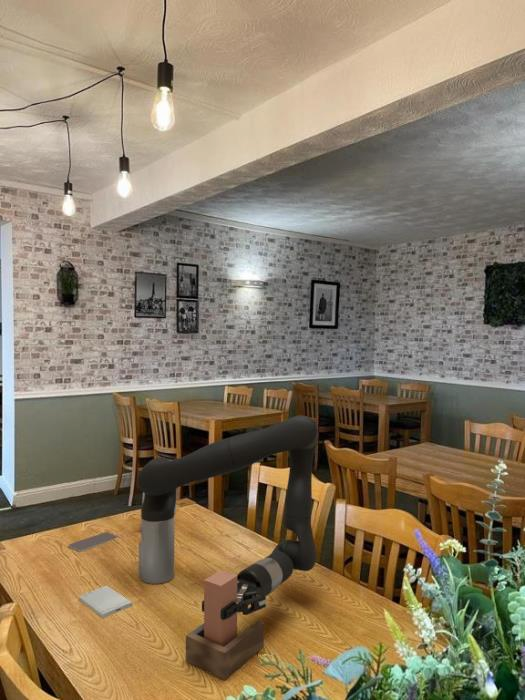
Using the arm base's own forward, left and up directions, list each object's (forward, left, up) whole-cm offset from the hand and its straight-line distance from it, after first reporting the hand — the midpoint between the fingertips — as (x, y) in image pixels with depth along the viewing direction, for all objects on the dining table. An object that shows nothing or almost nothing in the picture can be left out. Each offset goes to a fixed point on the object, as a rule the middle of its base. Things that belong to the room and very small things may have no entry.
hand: (212, 611), depth 107 cm
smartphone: (-73, +26, -12) cm, 78 cm away
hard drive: (-38, +3, -12) cm, 40 cm away
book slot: (0, +5, -11) cm, 12 cm away
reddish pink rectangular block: (0, +3, -10) cm, 10 cm away
